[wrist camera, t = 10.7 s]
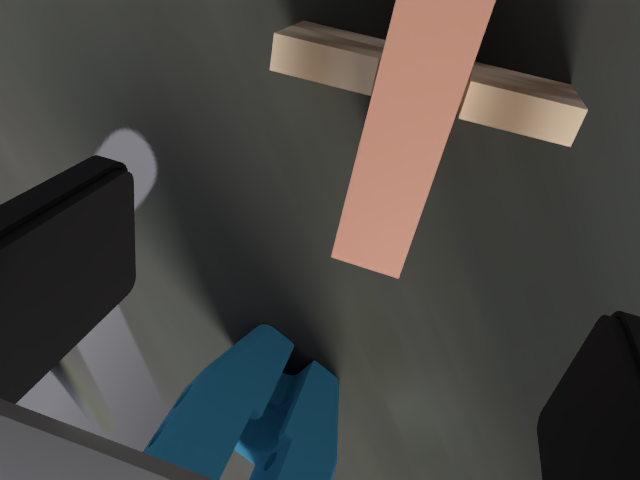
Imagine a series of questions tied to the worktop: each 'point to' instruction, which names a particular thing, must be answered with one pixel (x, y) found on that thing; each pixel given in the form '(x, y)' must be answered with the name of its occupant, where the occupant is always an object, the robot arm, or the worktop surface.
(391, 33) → the terracotta plate
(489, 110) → the slot plate base
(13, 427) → the robot arm
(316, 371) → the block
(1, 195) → the worktop surface
